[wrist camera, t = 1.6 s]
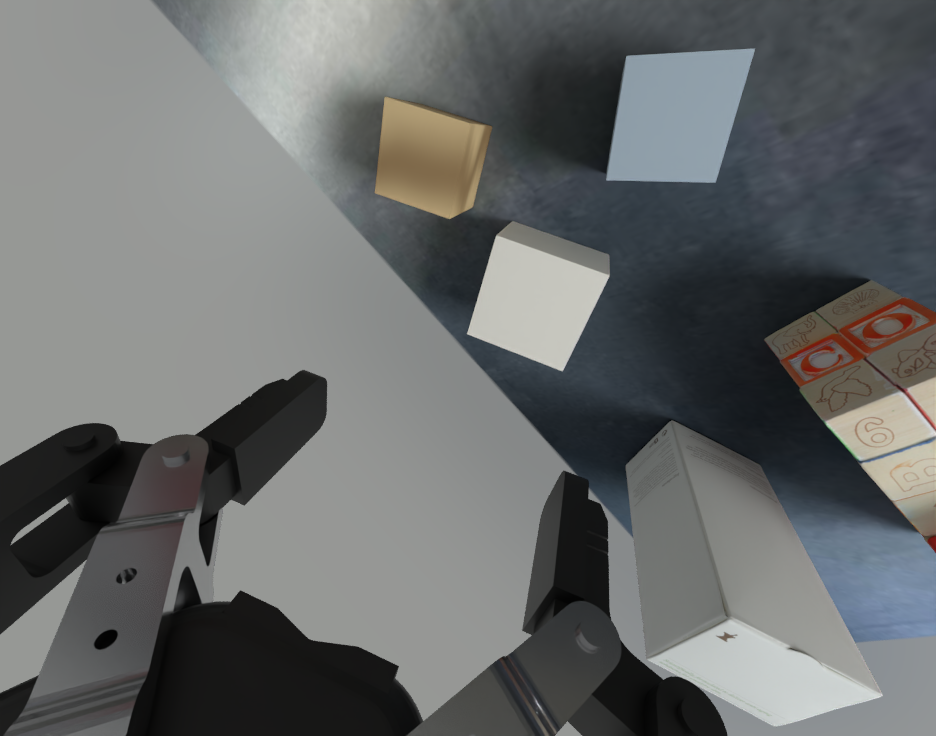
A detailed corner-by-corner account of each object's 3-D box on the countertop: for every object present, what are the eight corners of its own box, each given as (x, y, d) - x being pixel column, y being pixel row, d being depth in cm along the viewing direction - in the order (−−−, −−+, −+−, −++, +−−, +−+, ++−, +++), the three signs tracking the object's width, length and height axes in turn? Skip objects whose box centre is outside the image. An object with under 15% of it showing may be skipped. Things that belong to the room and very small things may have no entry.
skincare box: (623, 462, 34) (634, 657, 21) (673, 413, 30) (724, 614, 17) (708, 508, 34) (772, 734, 21) (770, 464, 30) (894, 707, 17)
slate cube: (622, 72, 21) (626, 55, 17) (724, 67, 20) (755, 48, 16) (606, 173, 24) (606, 180, 20) (695, 175, 22) (715, 182, 18)
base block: (512, 220, 27) (496, 235, 23) (609, 254, 26) (609, 275, 22) (485, 308, 31) (467, 334, 27) (568, 339, 30) (562, 371, 26)
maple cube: (421, 103, 25) (384, 96, 21) (492, 126, 24) (469, 123, 20) (409, 185, 28) (375, 193, 24) (472, 207, 27) (449, 219, 23)
